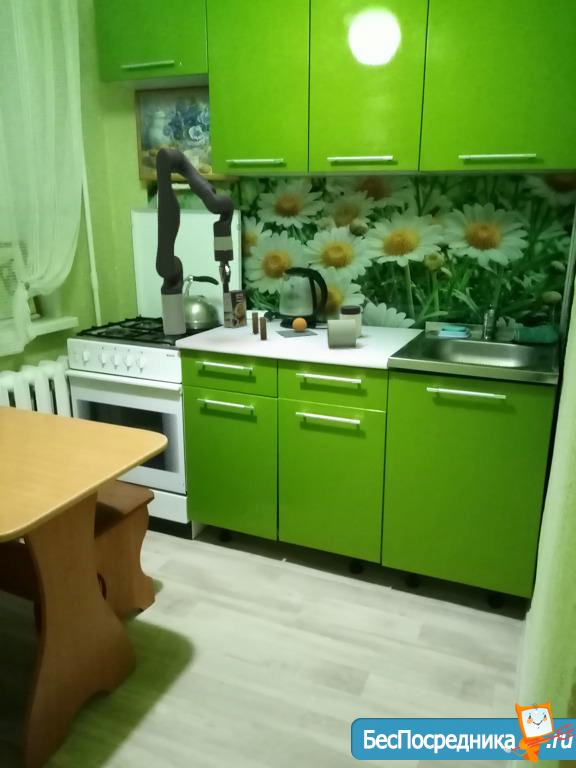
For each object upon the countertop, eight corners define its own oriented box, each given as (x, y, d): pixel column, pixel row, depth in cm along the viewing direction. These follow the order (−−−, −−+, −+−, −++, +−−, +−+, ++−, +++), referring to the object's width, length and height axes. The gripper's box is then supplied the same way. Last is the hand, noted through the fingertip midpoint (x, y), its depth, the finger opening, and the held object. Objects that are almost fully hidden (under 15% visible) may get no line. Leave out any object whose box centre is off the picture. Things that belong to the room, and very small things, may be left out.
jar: (342, 339, 236) (341, 309, 233) (337, 335, 244) (337, 306, 241) (363, 337, 237) (364, 307, 234) (358, 333, 245) (358, 304, 242)
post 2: (261, 340, 239) (260, 318, 236) (259, 339, 241) (258, 317, 239) (267, 339, 239) (266, 317, 237) (266, 338, 242) (265, 316, 239)
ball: (308, 332, 251) (295, 333, 249) (303, 330, 256) (290, 331, 254) (309, 318, 249) (295, 319, 247) (303, 316, 255) (290, 317, 253)
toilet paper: (353, 342, 229) (353, 317, 226) (356, 348, 219) (356, 321, 217) (327, 343, 229) (327, 318, 226) (329, 349, 219) (328, 322, 217)
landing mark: (285, 337, 242) (285, 337, 242) (275, 331, 255) (275, 331, 255) (317, 334, 246) (317, 334, 246) (306, 328, 259) (306, 328, 259)
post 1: (253, 334, 251) (252, 313, 248) (252, 333, 253) (251, 312, 251) (259, 334, 251) (258, 312, 249) (258, 332, 254) (257, 312, 251)
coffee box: (234, 328, 266) (232, 292, 261) (223, 327, 269) (221, 291, 265) (247, 325, 273) (246, 289, 268) (237, 324, 276) (235, 289, 272)
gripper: (211, 248, 238) (213, 291, 243) (217, 249, 226) (219, 295, 230) (229, 247, 240) (231, 290, 245) (236, 248, 228) (238, 294, 232)
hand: (226, 292), depth 237 cm, fingers closed
